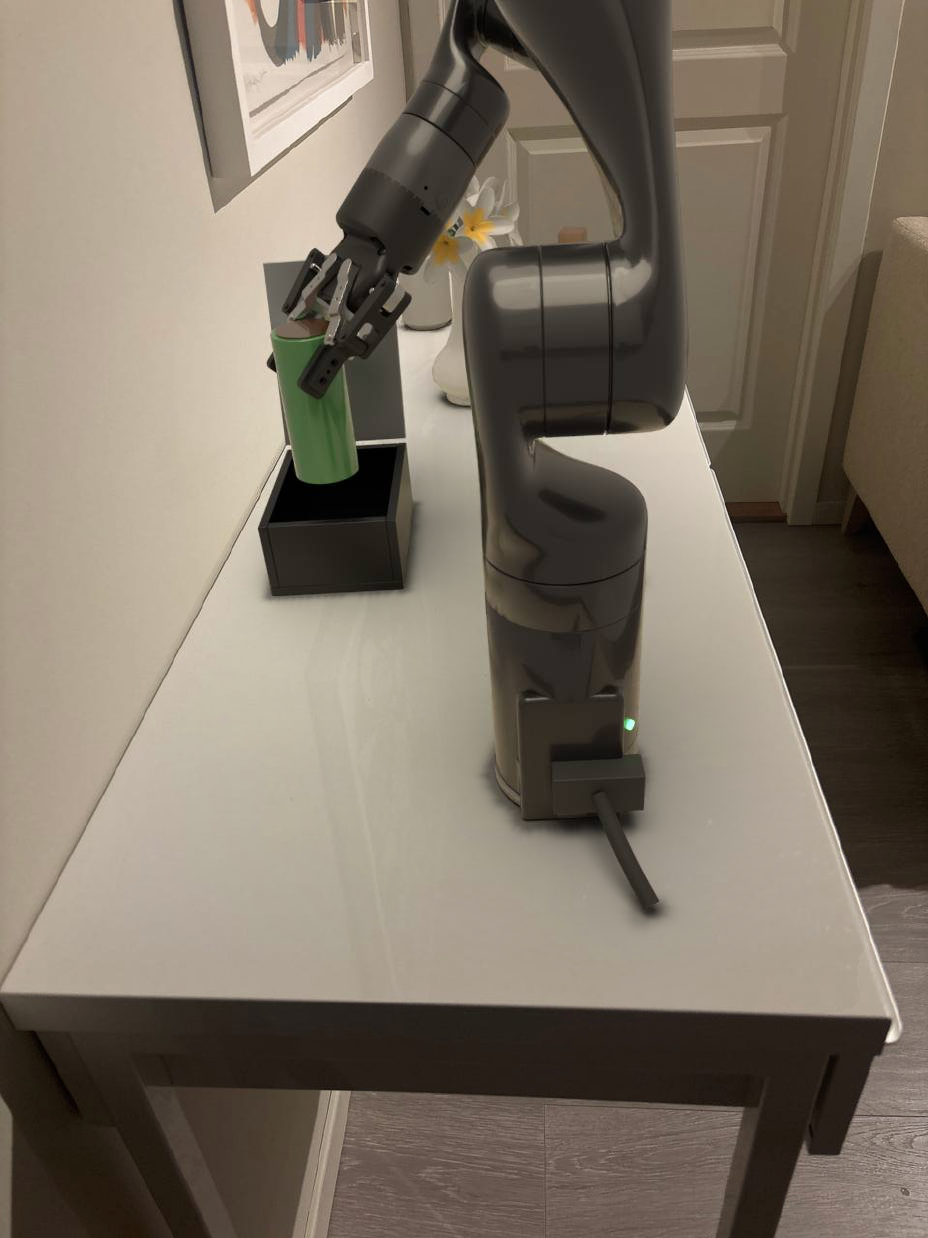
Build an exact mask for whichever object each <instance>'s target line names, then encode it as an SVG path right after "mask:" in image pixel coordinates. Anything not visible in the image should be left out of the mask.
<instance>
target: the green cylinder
mask: <svg viewBox="0 0 928 1238" xmlns="http://www.w3.org/2000/svg"><path fill="white" fill-rule="evenodd" d="M329 323H330V321H328V320H323V319H305V320H298V321H293V322H289V323H286V324H283V325H281V326H279V327H277V328H275V329H274V330H273V331H272V332H271V331H270V333H269V338H270V343H271V348H272V352H273V354H274V360H275V365H276V370H277V373H276V377H277V376H278V380H277V382H278V381H279V386H280V392H281V397H282V402H283V408H284V413H285V418H286V424H287V429H288V434H289V440H290V445H289V446H290V449H291V450H292V456H293V461H294V467H295V472H296V476H297V477H298V479H300V480H301V481H303V482H306V483H311V484H329V483H335V482H339V481H342V480H345V479H347V478H349V477H351V476H353V475H354V474H355V473H356V472H357V471H358V469H359V460H358V453H357V446H356V445H357V441H356V439H355V432H354V425H353V419H352V412H351V405H350V398H349V391H348V384H347V377H346V370H345V364H343V365H342V367H341V368H340V370H339V372H338V373H337V375H336V377H335V378H334V380H333V381H332V383H331V385H330V386H329V388H328V389H327V391H326V393H325V394H324V396H323V397H322V398H321V399H319V400H317V399H315V398H313V397H312V396H310V395H309V394H307V393H305V392H304V391H302V390H301V389H299V388H298V386H297V381H298V379H299V377H300V376H301V374H302V372H303V371H304V369H305V367H306V366H307V364H308V363H309V361H310V359H311V358H312V356H313V354H314V353H315V351H316V350H317V348H318V346H319V345H320V344H322V345H323V346H326V345H325V344H324V342H323V341H324V337H325V334H326V332H327V329H328V326H329Z"/></svg>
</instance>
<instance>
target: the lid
mask: <svg viewBox="0 0 928 1238" xmlns="http://www.w3.org/2000/svg"><path fill="white" fill-rule="evenodd" d="M305 260H306V259H301V260H287V261H285V260H284V261H274V262H273V261H272V262H271V261H270V262H263V263H262V267H263V275H264V283H265V292H266V299H267V300H266V301H267V308H268V314H269V315H268V316H269V323H270V333H271V332H272V331H273V330H274V329H275V328H277V327H279V326H281V325H283V324H286V323H287V318H288V316H287V315H286V314H285V313H283V312H282V307H283V305H284V303H285V301H286V299H287V297H288V295H289V293H290V291H291V289H292V287H293V285H294V283H295V281H296V279H297V277H298V275H299V272H300V270H301V268H302V266H303V264H304V262H305ZM302 300H303V297H302V295H301V297H300V299H299V301H298V303H297V305H298V304H299V303H300V302H301V301H302ZM381 311H382V310H381V309H380V312H381ZM318 315H319V314H318V313H317V314H316V316H315V318H314V319H316V318H317V317H318ZM344 328H345V327H344V326H343V327H342V330H341V332H342V331H343V329H344ZM373 328H374V327H373V326H372V328H371V331H372V330H373ZM371 331H370V333H371ZM370 333H369V334H370ZM369 334H365V335H363V337H362V339H363V340H365V339H366V338H367V336H368V335H369ZM399 345H400V344H399V336H398V320H397V321H396V322H395V324H394V325H393V326H392V328H391V329H390V330H389V331H388V333H387V334H386V335H385V337H384V338H383V339H382V341H381V342H380V343H379V344H378V346H377V347H376V348H375V350H374V351H373V352H372V354H371V355H370V356H369V357H368V358H367V359H365V360H363V359H361V358H360V357H358V356H355V357H354V358H353V359H352V360H351V361H348V360H346V361H345V362H344V364H345V370H346V377H347V384H348V391H349V398H350V405H351V412H352V419H353V425H354V432H355V439H356V442H366V441H384V440H397V439H398V440H400V439H401V440H402V439H406V438H407V429H406V419H405V408H404V407H405V406H404V396H403V395H404V393H403V382H402V381H403V380H402V372H401V371H402V370H401V359H400V346H399ZM276 380H277V387H278V394H279V402H280V411H281V418H282V427H283V435H284V442H285V446H291V445H290V440H289V434H288V429H287V424H286V418H285V413H284V408H283V402H282V397H281V392H280V386H279V381H278V376H277V375H276Z"/></svg>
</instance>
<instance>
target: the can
mask: <svg viewBox="0 0 928 1238" xmlns="http://www.w3.org/2000/svg"><path fill="white" fill-rule="evenodd" d="M431 255H432V254H431ZM431 255H429V256H427V258H426V259H425V261H424V263H423V264H422V266H421V267H420V269H419V271H418V272H417V273H416V274H414V275H406V274H403V273H399V275H398V278H397V282H398V284H399V285H400V286H401V287H402V288H403V289H405V291H406V292H408V293H409V294H410V295H411V296H412V300H411V302H410V304H409V305H408V307H407V308H406V309H405V311H404V312H403V313H402V315H401V319H402V322H403V323H404V324H405V325H407V326H408V327H409V328H410V329H412V330H417V331H429V330H430V331H431V330H437V329H440V328H442V327H445V326H446V325H447V324H448V322H450V320H452V318H453V306H452V292H451V281H450V279H451V278H450V271H449V270H448V267H447V264H446V267H445V270H444V272H443V274H442V276H441V277H440V279H439V280H438V281H437V282H436V283H434V284H431V285H429V284H427V283H425V281H424V277H423V272H424V268H425V265H426V263H427V261H428V259H429V257H430V256H431Z"/></svg>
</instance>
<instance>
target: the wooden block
mask: <svg viewBox="0 0 928 1238" xmlns="http://www.w3.org/2000/svg"><path fill="white" fill-rule="evenodd" d="M586 241H588V228H587V227H586V226H564V227H562V228H561V229H560V230H559V231H558V233H557V243H570V242H586Z"/></svg>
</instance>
